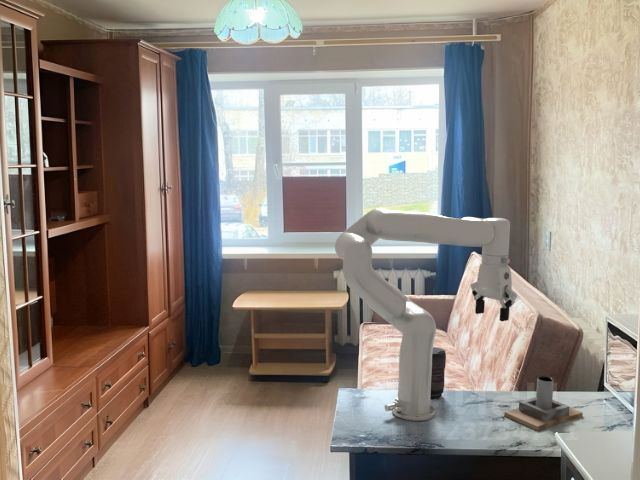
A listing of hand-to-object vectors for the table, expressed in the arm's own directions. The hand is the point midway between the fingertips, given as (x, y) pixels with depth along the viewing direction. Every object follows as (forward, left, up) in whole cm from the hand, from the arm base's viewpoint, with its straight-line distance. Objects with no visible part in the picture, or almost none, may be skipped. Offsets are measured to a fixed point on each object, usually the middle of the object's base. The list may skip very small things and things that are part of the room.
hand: (491, 316), depth 202 cm
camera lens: (-8, +16, -28) cm, 34 cm away
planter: (+10, -13, -27) cm, 32 cm away
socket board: (+10, -13, -28) cm, 33 cm away
